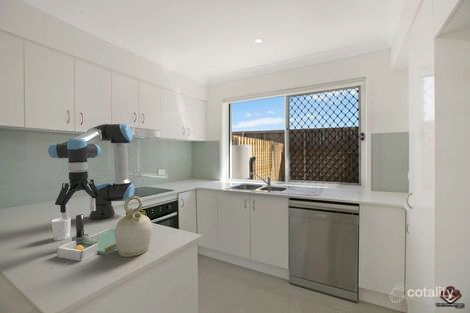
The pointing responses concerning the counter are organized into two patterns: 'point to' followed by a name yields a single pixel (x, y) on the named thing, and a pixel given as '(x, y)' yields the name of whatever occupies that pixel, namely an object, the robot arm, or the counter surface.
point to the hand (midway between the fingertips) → (80, 214)
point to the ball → (79, 247)
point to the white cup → (61, 228)
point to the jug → (133, 231)
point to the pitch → (103, 242)
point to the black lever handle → (80, 232)
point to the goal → (76, 251)
